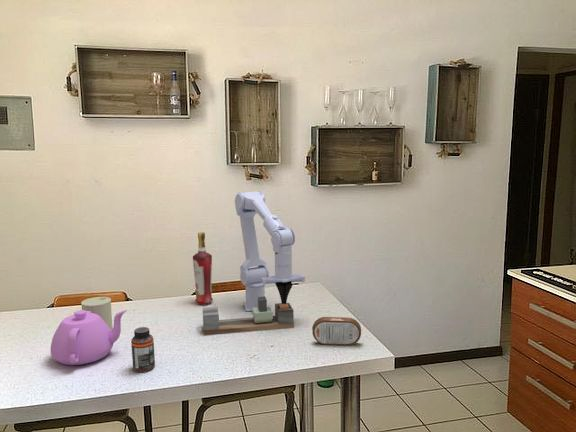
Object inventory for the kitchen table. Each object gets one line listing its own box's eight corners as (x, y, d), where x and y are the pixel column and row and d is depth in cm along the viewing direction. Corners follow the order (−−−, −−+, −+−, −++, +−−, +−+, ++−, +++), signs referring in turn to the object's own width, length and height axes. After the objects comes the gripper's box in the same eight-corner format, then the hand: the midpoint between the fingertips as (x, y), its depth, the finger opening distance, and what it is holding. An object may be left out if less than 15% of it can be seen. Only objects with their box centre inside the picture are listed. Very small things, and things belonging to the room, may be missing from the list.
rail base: (203, 325, 168) (202, 307, 168) (288, 318, 174) (288, 300, 173) (203, 335, 160) (203, 316, 159) (293, 327, 165) (293, 308, 165)
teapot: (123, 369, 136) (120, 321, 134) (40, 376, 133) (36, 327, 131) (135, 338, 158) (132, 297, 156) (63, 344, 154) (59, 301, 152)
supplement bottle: (135, 363, 139) (133, 325, 138) (156, 362, 140) (154, 324, 138) (130, 373, 133) (128, 333, 132) (152, 372, 134) (150, 332, 132)
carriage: (252, 317, 170) (252, 296, 169) (269, 316, 171) (269, 295, 170) (255, 324, 164) (254, 301, 163) (272, 322, 165) (272, 300, 164)
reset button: (279, 314, 170) (278, 304, 170) (287, 313, 171) (287, 303, 170) (280, 317, 167) (280, 307, 167) (289, 316, 168) (289, 306, 167)
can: (119, 331, 164) (117, 297, 162) (98, 342, 155) (95, 305, 154) (98, 327, 168) (96, 294, 166) (77, 337, 159) (74, 301, 158)
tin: (361, 342, 152) (361, 316, 151) (361, 346, 149) (361, 320, 148) (312, 341, 154) (312, 315, 152) (312, 345, 151) (311, 319, 149)
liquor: (191, 303, 193) (188, 233, 189) (206, 299, 198) (204, 230, 194) (201, 307, 187) (198, 235, 183) (217, 303, 192) (214, 232, 188)
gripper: (263, 268, 161) (264, 308, 163) (306, 266, 164) (307, 305, 166) (260, 263, 168) (261, 301, 170) (302, 261, 171) (302, 298, 173)
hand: (283, 303), depth 168 cm, fingers closed
